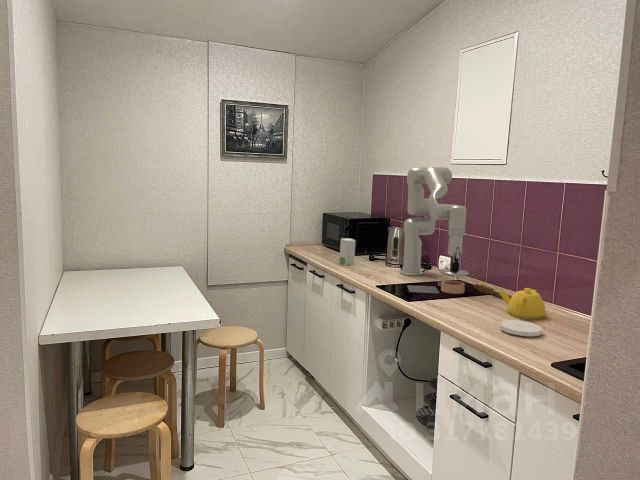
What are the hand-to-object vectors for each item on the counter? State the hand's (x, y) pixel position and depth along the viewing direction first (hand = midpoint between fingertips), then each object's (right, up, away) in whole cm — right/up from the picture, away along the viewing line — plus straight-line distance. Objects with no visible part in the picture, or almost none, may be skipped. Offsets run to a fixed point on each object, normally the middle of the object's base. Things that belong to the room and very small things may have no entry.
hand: (454, 269), depth 228 cm
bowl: (0, -11, +2) cm, 11 cm away
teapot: (+18, -16, -33) cm, 41 cm away
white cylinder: (-47, -1, +67) cm, 82 cm away
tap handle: (+18, -13, -3) cm, 22 cm away
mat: (-14, -10, +4) cm, 18 cm away
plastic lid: (+8, -19, -56) cm, 60 cm away
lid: (0, -2, 0) cm, 2 cm away
